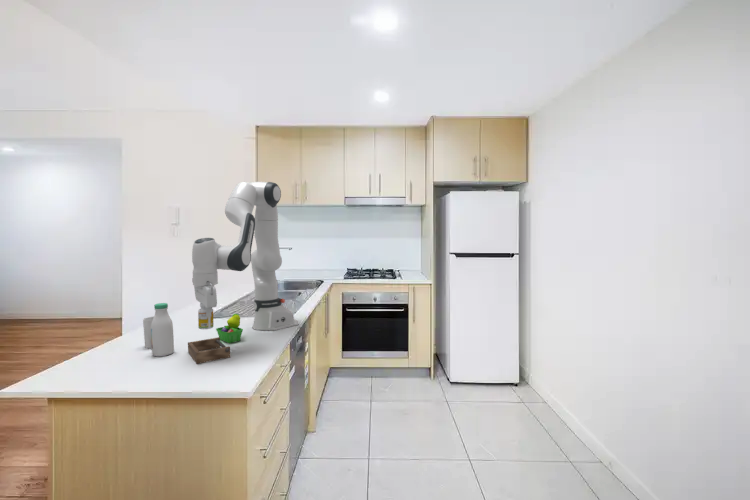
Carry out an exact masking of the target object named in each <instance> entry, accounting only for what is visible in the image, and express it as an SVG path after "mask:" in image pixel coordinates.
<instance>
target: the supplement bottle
mask: <svg viewBox="0 0 750 500" xmlns="http://www.w3.org/2000/svg"><path fill="white" fill-rule="evenodd" d="M199 307H200V308H199V309H198V311H197V312H198V315H197V318H198V319H197V321H198V324H197V325H198V330H199V329H200V330H211V329H213V328H214V308H212V312H211V317H208V318H207V317H206V314H205V312H206V307H205V306H204V305H203V304H201V303H200V302H199Z"/></svg>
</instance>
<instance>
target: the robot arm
mask: <svg viewBox="0 0 750 500" xmlns="http://www.w3.org/2000/svg"><path fill="white" fill-rule="evenodd" d="M281 197H282V190H281V188H280V186H279V184H277V183H275V182H273V181H267V182H266V181H253V182H252V181H250V182H247V181H241V182H238V184H236V185H235V187H234V188H233V190H232V192H231V193H230V195H229V197H228V199H227V202H226V204H225V207H224V214H225V216H226V218H227V219H228V220H229V222H231V223H233V225H235V226H238V227H240V230H239V231H240V232H239V237H238V242H237V243H236V244H234V245H222V244H220V243H217V241H216V240H215V238H213V237H202V238H198V239H196V240H194V241H193V244H192V250H191V252H192V253H191V262H192V265H193V269H192V285H193V287H194V296H195V299H196V301H197V302H199V304H200V303H201V304H203V305H204V306H205V307H206V312H205V314H206V317H207V318H208V317H211V312H212V309H213V308H216V307H217V305H218V298H217V288H216V286H217V285H218V284H219V281H218V279H219V278H218V277H219V276H218V270H223V271H224V270H227V271H235V272H242V271H243V272H244V271H245V270H246V269H247V268H248V267H249V265H250V264H251V270H252V275H253V281H254V301H253V308H254V309H253V310H254V319H253V323H252V329H254V330H257V331H278V330H283V329H286V328H290V327H296V326H298V325H299V321H298V320H296V319H295V317H294V313H293V312H292V310H290V309H289V308H287V307H286V306H285V305H283V304H285V303H286V299H284V298H280V297H279V286H278V285H279V282H278V280H277V276H276V272H275V271H277V270H279V269H280V268H281V266H282V263H283V260H282V256H281V251H280V244H279V236H278V235H279V234H278V233H279V229H278V228H279V226H278V225H279V214H278V213H279V212H278V204H279V202H280V200H281ZM254 208H255V213H254V215H253V211H254ZM254 239H255V244H256V249H255V250H254V251H253V252H252V246H253V242H254ZM215 285H216V286H215Z"/></svg>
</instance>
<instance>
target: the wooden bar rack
mask: <svg viewBox="0 0 750 500" xmlns="http://www.w3.org/2000/svg"><path fill="white" fill-rule="evenodd" d="M187 353H188V354H189V355H190V357H191V358H192V359H193V361H194V362H195V364H196V365H198V364H203V363H208V362H213V361H218V360H223V359H228V358H231V346H229V345H228V346H226V345H225V344H224V343H223V342H221V340H220V338H219V336H218V337H213V338H207V339H201V340H195V341H188V342H187Z"/></svg>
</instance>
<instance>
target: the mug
mask: <svg viewBox="0 0 750 500" xmlns="http://www.w3.org/2000/svg"><path fill="white" fill-rule="evenodd" d="M154 316H155V315H154ZM154 316H153V315H152V316H147V317H144V318H143V319H142V322H143V323H142V324H143V336H144V337H143V338H144V340H143V341H144V348H146V349H152V343H151V323H152V320H153V318H154Z"/></svg>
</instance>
